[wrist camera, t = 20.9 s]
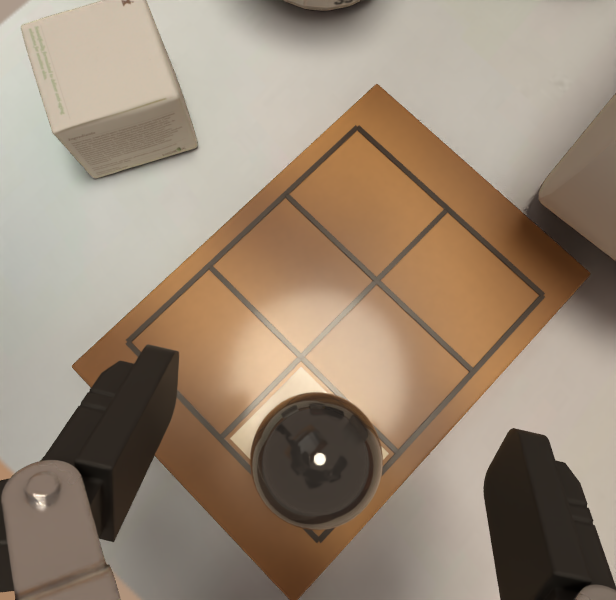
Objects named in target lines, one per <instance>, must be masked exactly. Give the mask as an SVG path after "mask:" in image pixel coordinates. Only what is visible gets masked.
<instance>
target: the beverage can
mask: <svg viewBox="0 0 616 600" xmlns="http://www.w3.org/2000/svg"><path fill="white" fill-rule="evenodd" d="M283 1H285V2H288V3H291V4H293V5H296V6H299V7H301V8H304V9H311V10H322V11H328V10H333V9H338V8H344V7H349V6H351V5H353V4H355V3H357V2H359V1H361V0H283Z"/></svg>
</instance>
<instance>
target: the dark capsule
mask: <svg viewBox="0 0 616 600" xmlns="http://www.w3.org/2000/svg"><path fill="white" fill-rule="evenodd" d="M250 468H251V475H252V479H253V482H254V485H255V488H256V490H257V492H258V494H259V496H260V498H261V499H262V501H263V502H264V504H265V505H266V506H267V507H268V508H269V510H270V511H271V512H272V513H274V514H275V515H276V516H277V517H278V518H280V519H281V520H283V521H285V522H286V523H288V524H291V525H293V526H295V527H299V528H302V529H308V530H325V529H331V528H335V527H338V526H340V525H343V524H345V523H347V522H349V521H350V520H352V519H354V518H355V517H356V516H357V515H359V514H360V513H361V512H362V511H363V510H364V509H365V508H366V507H367V505H368V504H369V503H370V501H371V500H372V498H373V496H374V495H375V493H376V491H377V488H378V486H379V483H380V479H381V475H382V468H383V455H382V447H381V443H380V440H379V437H378V434H377V432H376V430H375V428H374V426H373V424H372V423H371V421H370V420H369V419H368V417H367V416H366V415H365V414H364V413H363V412H362V411H361V410H360V409H359V408H358V407H357V406H356V405H354V404H353V403H351V402H350V401H348V400H346V399H344V398H342V397H340V396H337V395H333V394H330V393H323V392H310V393H303V394H299V395H296V396H293V397H291V398H288V399H287V400H285V401H283V402H281V403H280V404H279V405H277V406H276V407H274V408H273V409H272V410H271V411H270V412H269V413H268V414H267V416H266V417H265V418H264V419H263V421H262V422H261V424H260V426H259V427H258V429H257V432H256V434H255V436H254V439H253V443H252V447H251V453H250Z"/></svg>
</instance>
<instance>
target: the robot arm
mask: <svg viewBox="0 0 616 600" xmlns="http://www.w3.org/2000/svg"><path fill="white" fill-rule="evenodd" d="M178 370H179V352H178V351H176V350H171V349H167V348H163V347H158V346H154V345H149V344H148V345H146V346H145V347H144V349H143V350H142V352H141V354H140V355H139V357H138V358H137V360H136V362H135V363H134V364H133V363H129V362H125V361H118V362H117V363H115V364H114V365H112V366H111V367H109V368H108V369H106V370H105V371H103V372H102V373H101V374H100V376H99V377H98V378H97V380H96V381H95V383H94V384H93V386H92V387H91V389H90V392H88V393H87V395H86V396H85V398H84V399H83V400H82V402H81V405H80V406H78V408H77V409H76V411H75V412H74V414H73V415H72V417H71V418H70V419H69V421H68V422H67V424H66V425H65V427H64V428H63V430H62V431H61V433H60V434H59V436H58V437H57V439H56V440H55V441H54V443H53V444H52V446H51V447H50V449H49V450H48V452H47V453H46V455H45V456H44V457H43V458H42V460H41V461H39V462H36V463H33V464H30V465H28V466H26V467H24V468H22V469H20V470H19V471H18V472H16V473H15V474H14V475H13V476H12V477H11V478H10V479H6V480H1V481H0V592H7V591H15V600H121V599H120V596H119V592H118V588H117V585H116V581H115V578H114V575H113V572H112V569H111V567H110V565H109V564H108V565H107V564H106V561H105V559H104V555H103V552H102V548H101V544H100V541H99V539H103V540H107V541H112V542H114V541H115V539H116V536H117V534H118V532H119V530H120V528H121V526H122V524H123V522H124V519H125V517H126V515H127V513H128V511H129V509H130V507H131V504H132V502H133V500H134V498H135V496H136V494H137V492H138V490H139V487H140V485H141V483H142V481H143V479H144V477H145V475H146V472H147V470H148V468H149V466H150V464H151V462H152V460H153V458H154V455H155V453H156V451H157V449H158V447H159V445H160V443H161V440H162V438H163V436H164V434H165V432H166V430H167V428H168V426H169V423H170V421H171V418H172V416H173V412H174V409H175V404H176V399H177V385H178ZM484 500H485V506H486V512H487V518H488V525H489V531H490V537H491V543H492V549H493V556H494V562H495V568H496V574H497V581H498V587H499V593H500V599H501V600H616V586H615V583H614V580H613V577H612V574H611V571H610V568H609V566H608V563H607V560H606V557H605V554H604V551H603V548H602V545H601V542H600V539H599V536H598V533H597V531H596V528H595V525H593V519H592V516H591V513H590V510H589V508H587V501H586V499H585V496H584V493H583V490H582V487H581V484H580V482H579V481H578V479H577V478H576V477H575V475H574V474H573V473H572V471H571V470H570V469H569V467H568V466H567V465H566V463H564V462H559V461H555V458H554V455H553V452H552V449H551V445H550V442H549V440H548V438H547V437H546V436H545V435H541V434H537V433H532V432H528V431H523V430H519V429H515V428H513V429H511V430H510V431H509V432H508V433H507V435H506V437H505V439H504V441H503V442H502V444H501V446H500V448H499V450H498V451H497V453H496V455H495V457H494V459H493V461H492V462H491V464H490V466H489V468H488V470H487V473H486V476H485V481H484Z"/></svg>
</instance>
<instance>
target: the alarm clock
mask: <svg viewBox="0 0 616 600" xmlns="http://www.w3.org/2000/svg"><path fill="white" fill-rule="evenodd" d="M539 201H540V203H541V204H542V205H544V206H545V207H546V208H548V209H549V210H550V211H551V212H553V213H554V214H555V215H557V216H558V217H559V218H560V219H562V220H563V221H564V222H566V223H567V224H568V225H569V226H571V227H572V228H573V229H575V230H576V231H577V232H579V233H580V234H581V235H582V236H584V237H585V238H586V239H588V240H589V241H590V242H591V243H593V244H594V245H595V246H597V247H598V248H599V249H600V250H602V251H603V252H604V253H606V254H607V255H608V256H609V257H611V258H612V259H613V260H615V261H616V93H615V95H614V96H613V97H612V98H611V100H610V101H609V102H608V103H607V104H606V106H605V107H604V108H603V109H602V111H601V112H600V113H599V114H598V115H597V117H596V118H595V119H594V120H593V122H592V123H591V124H590V125H589V126H588V128H587V129H586V130H585V131H584V133H583V134H582V135H581V136H580V137H579V139H578V140H577V141H576V142H575V144H574V145H573V146H572V147H571V148H570V150H569V151H568V152H567V153H566V155H565V156H564V157H563V158H562V159H561V161H560V162H559V163H558V164H557V166H556V167H555V168H554V169H553V170H552V172H551V173H550V174H549V175H548V177H547V178H546V179H545V181H544V183H543V185H542V186H541V188H540V190H539Z"/></svg>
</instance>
